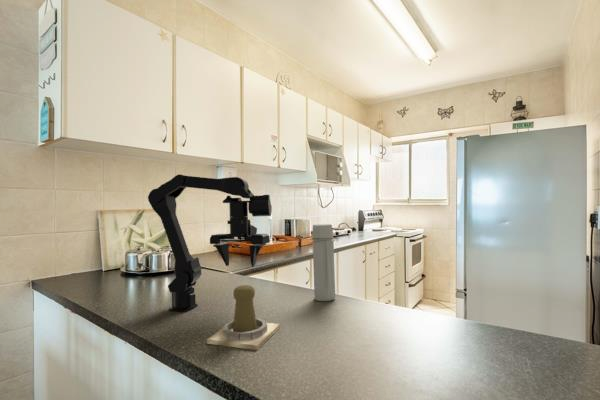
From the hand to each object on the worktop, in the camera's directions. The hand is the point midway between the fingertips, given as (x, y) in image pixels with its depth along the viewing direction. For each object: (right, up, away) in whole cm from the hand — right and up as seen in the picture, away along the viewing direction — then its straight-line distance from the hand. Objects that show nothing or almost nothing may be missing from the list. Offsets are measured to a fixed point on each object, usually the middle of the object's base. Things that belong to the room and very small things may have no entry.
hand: (240, 266), depth 99 cm
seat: (+6, -12, -22) cm, 26 cm away
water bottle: (+28, -13, +5) cm, 31 cm away
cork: (+5, -12, -22) cm, 25 cm away
